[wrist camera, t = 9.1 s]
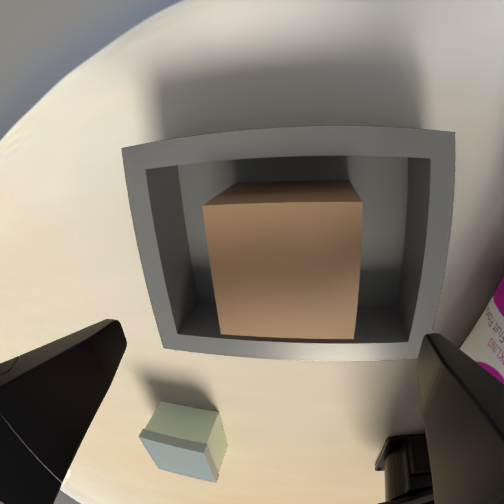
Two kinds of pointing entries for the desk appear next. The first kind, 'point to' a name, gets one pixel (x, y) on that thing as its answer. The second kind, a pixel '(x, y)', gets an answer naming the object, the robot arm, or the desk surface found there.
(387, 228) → the tote
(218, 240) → the walnut block
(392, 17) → the desk surface
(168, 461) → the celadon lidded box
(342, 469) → the desk surface
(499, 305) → the supplement can
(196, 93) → the desk surface
